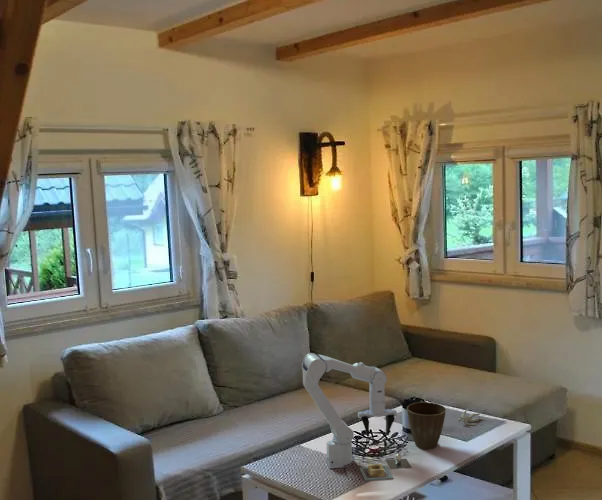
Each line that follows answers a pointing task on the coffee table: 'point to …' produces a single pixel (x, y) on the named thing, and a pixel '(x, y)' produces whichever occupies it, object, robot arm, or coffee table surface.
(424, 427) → the plant pot
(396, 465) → the stake
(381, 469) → the collar
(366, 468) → the green square frame
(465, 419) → the soldier figure
